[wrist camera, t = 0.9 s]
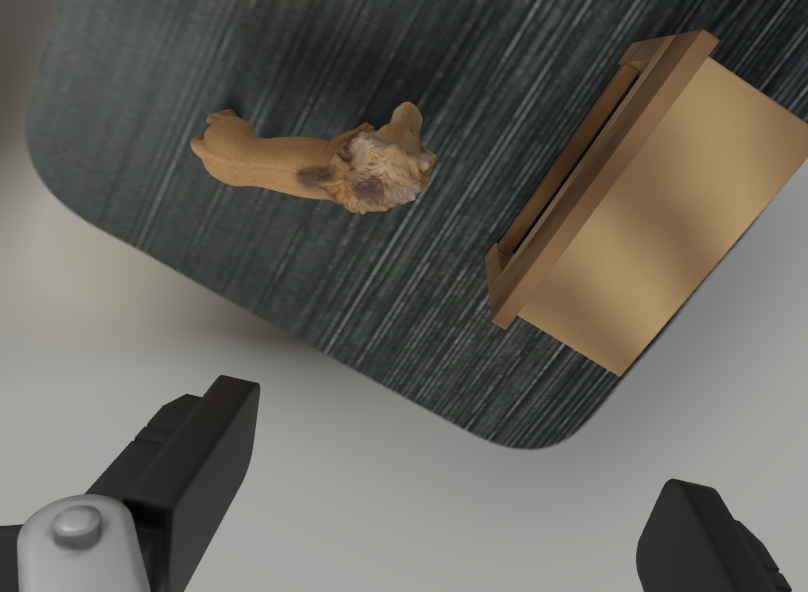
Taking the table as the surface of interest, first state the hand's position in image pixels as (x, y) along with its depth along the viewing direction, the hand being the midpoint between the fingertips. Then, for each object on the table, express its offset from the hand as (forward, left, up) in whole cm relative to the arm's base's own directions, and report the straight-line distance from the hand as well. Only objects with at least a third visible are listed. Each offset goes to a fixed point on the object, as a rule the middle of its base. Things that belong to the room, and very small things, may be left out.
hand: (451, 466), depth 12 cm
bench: (0, +9, -25) cm, 27 cm away
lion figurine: (-4, -8, -25) cm, 27 cm away
